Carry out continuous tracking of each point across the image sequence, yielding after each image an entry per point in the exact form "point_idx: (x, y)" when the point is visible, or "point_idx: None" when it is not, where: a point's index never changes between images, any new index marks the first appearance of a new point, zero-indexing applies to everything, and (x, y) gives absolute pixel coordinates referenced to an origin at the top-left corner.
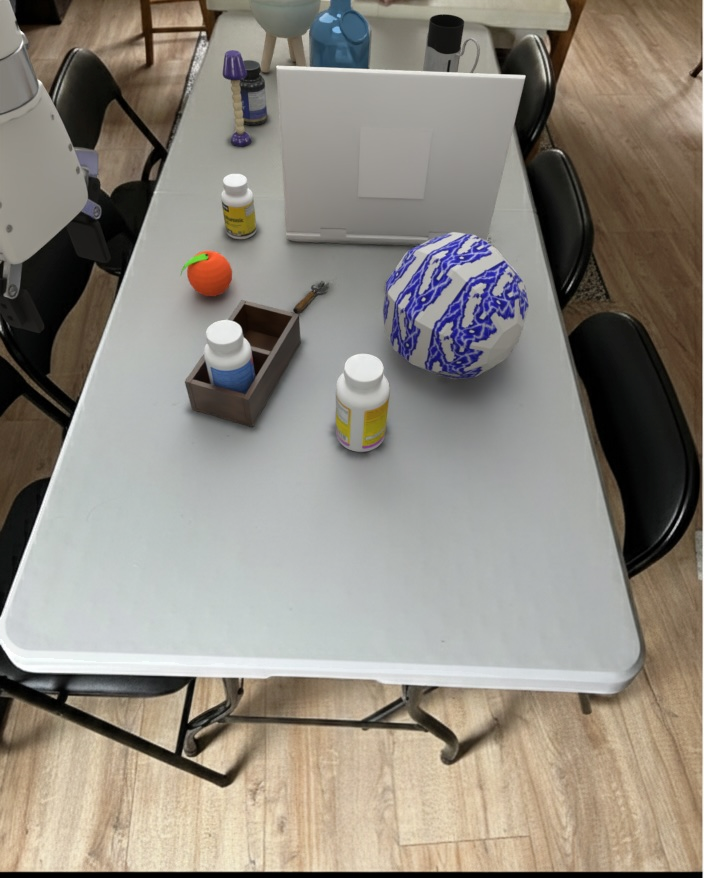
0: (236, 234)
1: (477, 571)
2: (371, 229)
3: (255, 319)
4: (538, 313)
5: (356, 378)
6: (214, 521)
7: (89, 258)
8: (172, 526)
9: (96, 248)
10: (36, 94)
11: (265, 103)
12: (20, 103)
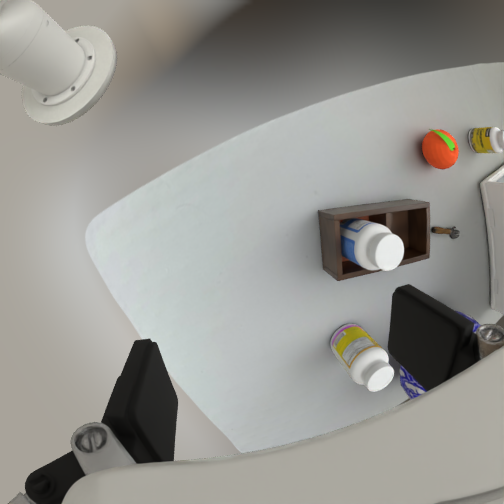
0: (471, 141)
1: (277, 426)
2: (496, 244)
3: (417, 215)
4: None
5: (369, 383)
6: (229, 297)
7: (392, 319)
8: (208, 272)
9: (406, 359)
10: None
11: None
12: None
